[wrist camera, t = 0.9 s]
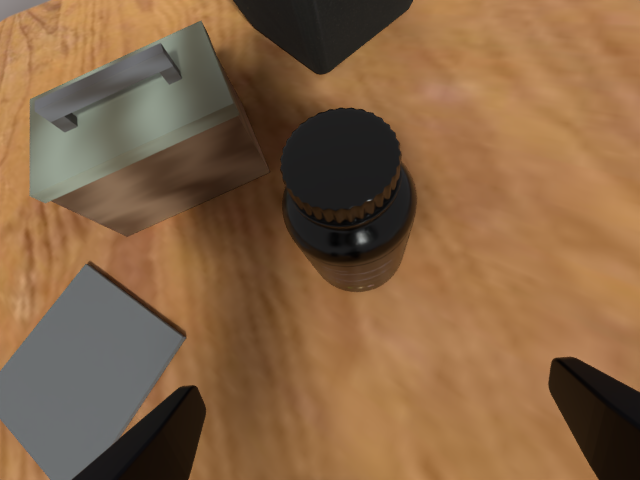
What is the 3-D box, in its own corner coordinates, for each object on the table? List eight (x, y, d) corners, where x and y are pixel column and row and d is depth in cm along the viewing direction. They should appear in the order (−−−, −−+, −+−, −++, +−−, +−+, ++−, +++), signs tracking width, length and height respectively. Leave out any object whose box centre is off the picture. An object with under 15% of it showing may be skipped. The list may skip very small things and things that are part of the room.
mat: (76, 501, 20) (71, 504, 19) (-14, 394, 24) (-20, 395, 23) (186, 337, 22) (182, 337, 22) (89, 265, 26) (85, 263, 26)
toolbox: (242, 100, 30) (184, -12, 21) (272, 172, 26) (218, 76, 17) (113, 159, 30) (-1, 74, 21) (125, 239, 27) (-7, 179, 17)
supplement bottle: (309, 215, 24) (255, 101, 13) (394, 203, 23) (412, 69, 12) (315, 300, 22) (255, 246, 11) (411, 289, 21) (452, 218, 10)
